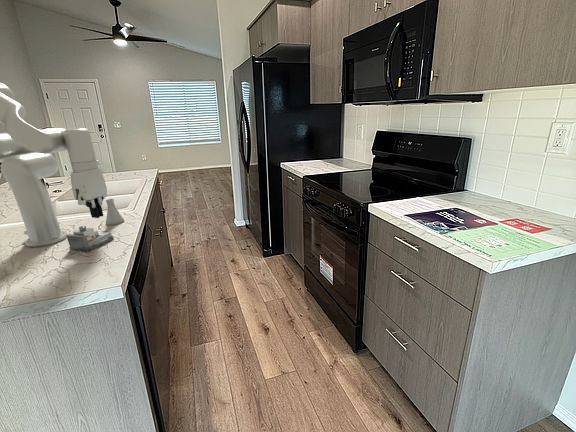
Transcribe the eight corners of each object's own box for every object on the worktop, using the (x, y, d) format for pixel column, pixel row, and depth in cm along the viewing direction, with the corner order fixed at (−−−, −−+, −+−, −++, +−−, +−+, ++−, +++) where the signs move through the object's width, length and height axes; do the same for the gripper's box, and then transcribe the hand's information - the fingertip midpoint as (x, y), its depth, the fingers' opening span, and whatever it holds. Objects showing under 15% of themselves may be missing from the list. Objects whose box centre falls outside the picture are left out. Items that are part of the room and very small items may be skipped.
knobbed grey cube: (86, 240, 111) (82, 224, 108) (101, 241, 109) (96, 225, 107) (76, 245, 107) (71, 228, 105) (91, 246, 105) (86, 229, 103)
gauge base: (96, 237, 116) (93, 223, 115) (113, 239, 114) (110, 225, 112) (70, 250, 107) (65, 235, 105) (88, 252, 104) (83, 237, 102)
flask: (102, 222, 132) (97, 200, 128) (120, 218, 136) (115, 196, 133) (109, 226, 127) (103, 203, 123) (127, 221, 132) (122, 199, 128)
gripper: (95, 161, 114) (106, 209, 120) (55, 170, 100) (70, 223, 106) (111, 162, 112) (122, 210, 118) (73, 171, 98) (87, 225, 104)
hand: (97, 216), depth 112 cm, fingers closed
